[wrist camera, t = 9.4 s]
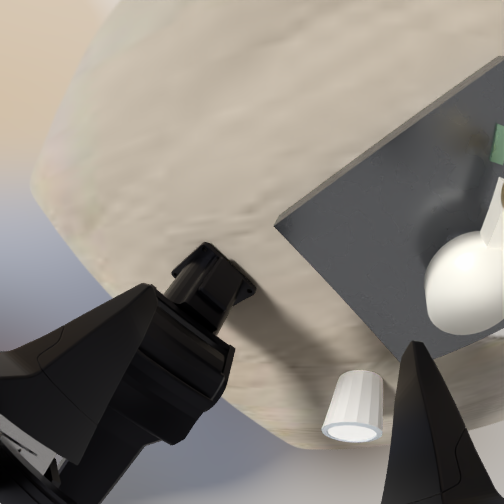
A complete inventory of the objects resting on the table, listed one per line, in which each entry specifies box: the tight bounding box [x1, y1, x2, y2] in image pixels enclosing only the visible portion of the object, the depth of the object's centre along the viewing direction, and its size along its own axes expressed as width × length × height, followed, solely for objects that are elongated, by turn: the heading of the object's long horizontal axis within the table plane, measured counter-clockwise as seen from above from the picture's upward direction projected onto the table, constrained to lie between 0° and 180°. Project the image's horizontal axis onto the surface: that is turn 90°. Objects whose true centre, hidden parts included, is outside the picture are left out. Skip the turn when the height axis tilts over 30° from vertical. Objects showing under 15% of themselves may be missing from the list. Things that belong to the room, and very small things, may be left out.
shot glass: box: [321, 370, 383, 443], centre depth 29 cm, size 7×7×7 cm
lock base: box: [274, 56, 504, 363], centre depth 17 cm, size 20×20×3 cm
